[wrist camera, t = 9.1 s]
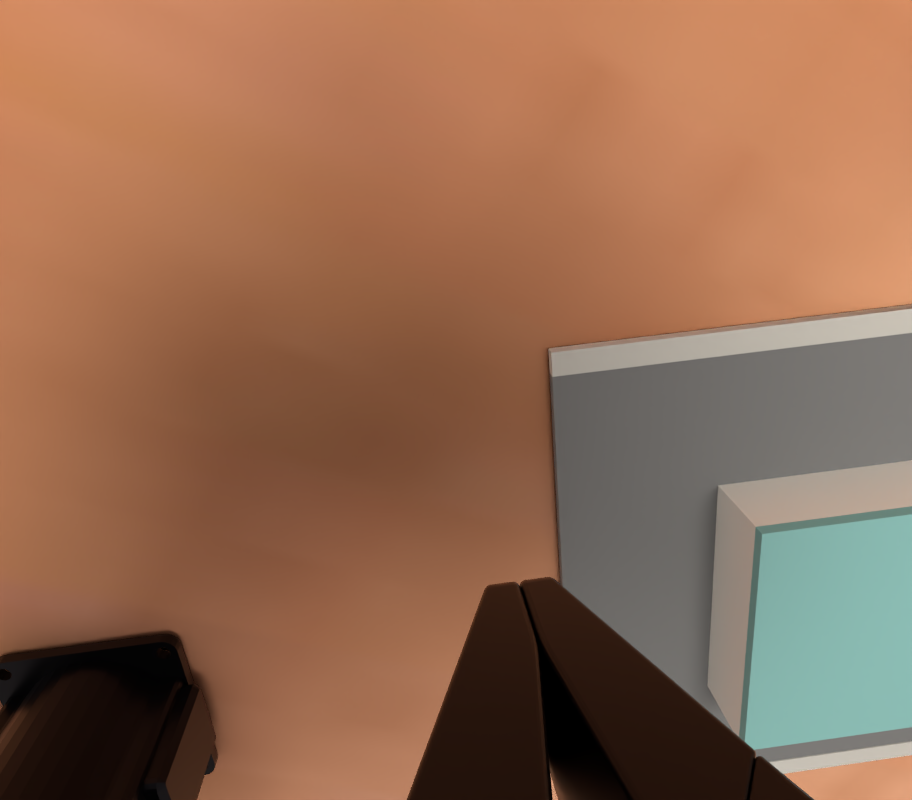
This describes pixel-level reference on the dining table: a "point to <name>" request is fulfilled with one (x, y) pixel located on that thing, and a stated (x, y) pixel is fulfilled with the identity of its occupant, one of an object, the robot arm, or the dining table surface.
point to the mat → (713, 469)
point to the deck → (813, 605)
